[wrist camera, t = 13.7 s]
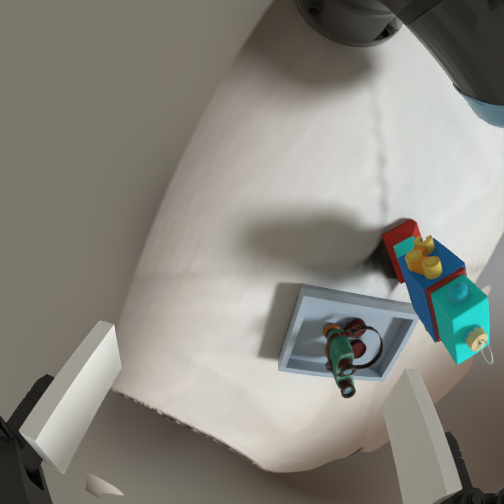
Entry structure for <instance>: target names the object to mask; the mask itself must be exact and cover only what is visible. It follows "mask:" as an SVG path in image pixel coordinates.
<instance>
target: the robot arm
mask: <svg viewBox="0 0 504 504" xmlns="http://www.w3.org/2000/svg"><path fill="white" fill-rule="evenodd" d="M296 3H297V6H298V9H299V11H300V13H301V14H302V16H303V17H304V19H305V20H306V21H307V22H308V23H309V24H310V25H311V26H312V27H313V28H314V29H315V30H316V31H318V32H319V33H321V34H322V35H324V36H326V37H327V38H329V39H331V40H334V41H336V42H339V43H342V44H345V45H349V46H355V47H371V46H376V45H379V44H382V43H384V42H386V41H387V40H389V39H390V38H391V37H393V36H394V35H395V34H396V33H397V32H398V31H399V30H400V28H401V27H402V25H403V23H404V24H405V25H406V27H407V28H408V29H409V30H410V31H411V32H412V33H413V34H414V35H415V36H416V37H417V39H418V40H419V41H420V42H421V43H422V44H423V45H424V46H425V48H426V49H427V50H428V51H429V52H430V54H431V55H432V56H433V57H434V58H435V60H436V61H437V62H438V63H439V65H440V66H441V67H442V68H443V70H444V71H445V72H446V74H447V75H448V76H449V78H450V79H451V80H452V82H453V86H454V87H455V89H456V90H457V91H458V92H459V93H460V94H461V95H462V96H463V97H464V98H465V100H466V101H467V102H468V104H469V105H470V107H471V108H472V110H473V111H474V112H475V114H476V115H477V116H478V117H479V118H481V119H483V120H484V121H485V122H487V123H488V124H490V125H493V126H496V127H500V128H504V0H296ZM121 368H122V366H121V361H120V356H119V351H118V345H117V340H116V334H115V328H114V325H113V324H111V323H107V322H104V321H99V322H98V323H97V324H96V325H95V327H94V328H93V329H92V330H91V332H90V333H89V334H88V335H87V337H86V338H85V339H84V340H83V342H82V343H81V344H80V345H79V347H78V348H77V349H76V351H75V352H74V353H73V355H72V356H71V357H70V359H69V360H68V361H67V363H66V364H65V365H64V366H63V368H62V369H61V370H60V372H59V373H58V374H57V376H56V377H55V378H54V377H52V376H50V375H48V374H46V375H45V376H43V377H42V378H40V379H38V380H37V381H36V383H35V384H34V385H33V387H32V388H31V391H29V392H28V393H27V395H26V397H25V398H24V399H23V400H22V402H21V403H20V404H19V406H18V407H17V409H16V410H15V412H14V413H13V414H12V416H11V417H10V419H9V420H8V421H7V422H6V423H5V421H4V420H3V419H2V417H1V416H0V504H53V503H52V500H51V497H50V494H49V491H48V487H47V484H46V481H45V477H44V473H43V470H42V467H41V465H40V464H41V462H42V460H43V461H44V462H45V463H46V464H47V465H48V466H49V467H51V468H53V469H55V470H57V471H58V472H60V473H62V474H64V473H65V471H66V469H67V467H68V465H69V463H70V461H71V459H72V457H73V455H74V453H75V451H76V449H77V447H78V445H79V443H80V442H81V440H82V438H83V436H84V434H85V432H86V430H87V428H88V426H89V424H90V423H91V421H92V419H93V417H94V415H95V414H96V412H97V410H98V408H99V406H100V404H101V403H102V401H103V399H104V397H105V395H106V394H107V392H108V390H109V388H110V387H111V385H112V383H113V381H114V380H115V378H116V376H117V374H118V373H119V371H120V369H121ZM381 407H382V411H383V414H384V418H385V422H386V426H387V430H388V434H389V438H390V442H391V447H392V451H393V455H394V460H395V464H396V469H397V474H398V479H399V483H400V489H401V494H402V500H403V504H504V488H503V489H502V490H500V491H499V492H498V493H486V494H484V493H483V492H482V491H481V490H480V489H478V488H473V486H472V484H471V482H470V478H469V475H468V472H467V469H466V466H465V463H464V460H463V459H462V454H461V451H459V450H460V449H459V446H458V443H457V440H456V439H455V438H454V436H453V435H452V434H451V433H450V432H444V431H443V428H442V426H441V423H440V420H439V418H438V415H437V413H436V410H435V408H434V405H433V403H432V400H431V398H430V396H429V393H428V391H427V388H426V386H425V384H424V382H423V379H422V377H421V375H420V373H419V370H418V369H405V370H404V372H403V373H402V375H401V377H400V378H399V380H398V381H397V383H396V385H395V386H394V388H393V389H392V391H391V392H390V394H389V395H388V397H387V398H386V400H385V401H384V403H383V404H382V406H381Z"/></svg>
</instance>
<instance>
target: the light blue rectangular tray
mask: <svg viewBox="0 0 504 504" xmlns="http://www.w3.org/2000/svg"><path fill="white" fill-rule="evenodd" d="M355 319H362V320H363V321H364V322H365V324H366V325H367V326H372V327H373V328H374V329H376V330H377V331H378V333H379V334H380V336H381V338H382V341H383V352H382V355H381V357H380V358H379V359H378V360H377V362H376V363H375V364H374V365H372V366H371V367H369V368H365V369H359V370H356V372H355V373H354V374H352V376H353V380H366V381H383V382H384V380H385V378H386V377H387V375H388V374H389V372H390V370H391V369H392V367H393V365H394V364H395V362H396V360H397V359H398V357H399V355H400V354H401V352H402V350H403V348H404V347H405V345H406V343H407V341H408V339H409V338H410V336H411V334H412V332H413V330H414V328H415V326H416V324H417V322H418V320H419V317H418V315H417V314H416V312H415V311H414V309H413V305H412V304H411V303H405V302H399V301H393V300H388V299H382V298H376V297H371V296H365V295H360V294H354V293H349V292H343V291H338V290H332V289H327V288H322V287H316V286H311V285H306V284H302V285H301V288H300V292H299V295H298V298H297V301H296V305H295V308H294V311H293V314H292V317H291V321H290V324H289V327H288V330H287V333H286V336H285V339H284V342H283V345H282V348H281V351H280V354H279V357H278V371H283V372H290V373H297V374H305V375H313V376H322V377H331V378H334V376H333V373H332V372H331V371H328V370H326V367H325V364H326V362H327V361H328V359H327V357H326V355H325V349H326V343H327V339H326V338H325V336H324V334H323V328H324V327H325V326H326V325H327V324H336V325H338V326H339V327H340V328H341V329H342V328H344V327H346V325H347V324H348V323H350V322H351V321H353V320H355ZM379 334H377V333H376V332H374V331H372V330H366V332H365V333H364V334H363V335H362V336H360V337H358V338H349V337H348V340H349V342H352V341H354V340H357V339H359V340H362V341H363V342H364V344H365V345H366V348H367V349H366V352H365V354H364V355H363V356H362V357H360V358H358V359H354V361H353V365H363V364H366V363H368V362H370V361H371V360H373V359H374V357H375V356H376V355H377V354H378V352H379V349H380V337H379Z"/></svg>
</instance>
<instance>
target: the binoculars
mask: <svg viewBox="0 0 504 504" xmlns="http://www.w3.org/2000/svg"><path fill="white" fill-rule="evenodd" d="M366 330H372V331H374V332H376V333H377V334H379V333H378V331H377V330H376V329H374V328H373V327H372V326H367V325H366V324H365V322H364V321H363V320H362V319H355V320H353V321H351V322H350V323H348V324H347V325H346V327H344V328H342V329H341V328H340V327H339V326H338V325H336V324H327V325H326V326H325V327H324V328H323V334H324V336H325V338H326V339H327V343H326V349H325V355H326V357H327V359H328V361H327V362H326V364H325V367H326V370H328V371H331V372H332V373H333V376H334V378H335V381H336V383H337V385H338V387H339V389H341V394H342V397H344V398H351V397H352V396H353V395H354V394H355V392H356V390H355V387H354V386H353V385H354V381H353V376H352V374H354V373H355V372H356V370H359V369H365V368H369V367H371V366H372V365H374V364H375V363H376V362H377V360H378V359H379V358H380V357H381V355H382V352H383V341H382V338H381V336H380V334H379V337H380V349H379V352H378V354H377V355H376V356H375V357H374V359H373V360H371V361H370V362H368V363H366V364H363V365H353V361H354V359H358V358H360V357H362V356H363V355H364V354H365V352H366V349H367V348H366V345H365V344H364V342H363V341H362V340H359V339H357V340H354V341H352V342H349V340H348V337H349V338H358V337H360V336H362V335H363V334H364V333H365V332H366Z"/></svg>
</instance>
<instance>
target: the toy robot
mask: <svg viewBox="0 0 504 504" xmlns="http://www.w3.org/2000/svg"><path fill="white" fill-rule="evenodd" d="M381 236H382V238H383V241H384V243H385V246H386V249H387V251H388V254H389V256H390V259H391V262H392V265H393V267H394V270H395V273H396V276H397V279H398V280H399V282H400V283H401V284H402V283H404V282H405V283H406V286H407V289H408V292H409V295H410V299H411V302H412V305H413V309H414V311H415V312H416V314H417V315H418V317H419V318H420V320H421V321H422V323H423V324H424V326H425V329H426V331H427V332H429V334H430V335H431V337H432V338H433V340H434V342H435V343H436V342H439V341H442V342H443V344H444V345H445V347H446V348H447V350H448V351H449V353H450V355H451V356H452V358H453V360H454V361H455V363H456V364H457V365H458V364H460V363H461V362H463V361H465V360H466V359H468V358H469V357H471V356H473V355H474V354H476V353H477V352H479V351H480V350H481V351H482V349H483V348H485V347H486V346H488V348H489V350H490V353H491V356H492V362H493V355H492V352H491V349H490V347H489V306H488V296H487V295H486V294H485V293H484V292H482V291H481V290H480V289H479V288H478V287H477V286H476V285H475V284H474V283H473V282H472V281H471V280H470V279H468V278H467V274H466V268H465V263H464V262H463V261H462V260H461V259H459V258H458V257H457V256H456V255H455V254H453V253H452V252H451V251H450V250H448V249H447V248H446V247H445V246H443V245H442V244H441V243H439V242H438V241H437V240H436V239H434V238H433V239H432V236H431V235H430V236H428V237H427V238H426V240H425V241H424V242H423V240H422V237H421V235H420V232H419V228H418V225H417V222H415V221H414V220H413V219H411V220H409V221H407V222H405V223H404V224H402V225H400V226H398V227H396V228H394V229H392V230H391V231H389V232H387V233H385V234H383V235H381ZM482 354H483V351H482ZM483 356H484V354H483ZM484 358H485V356H484ZM485 360H486V358H485ZM486 361H487V360H486ZM487 362H488V361H487ZM492 362H491V363H492ZM488 363H489V362H488ZM491 363H489V364H491Z"/></svg>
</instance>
